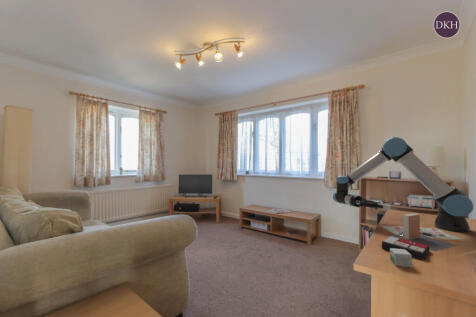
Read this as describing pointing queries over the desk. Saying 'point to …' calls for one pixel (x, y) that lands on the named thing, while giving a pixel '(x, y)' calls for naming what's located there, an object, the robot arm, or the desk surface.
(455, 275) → the desk surface
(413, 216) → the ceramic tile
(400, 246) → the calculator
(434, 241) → the tile mat
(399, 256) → the small box
